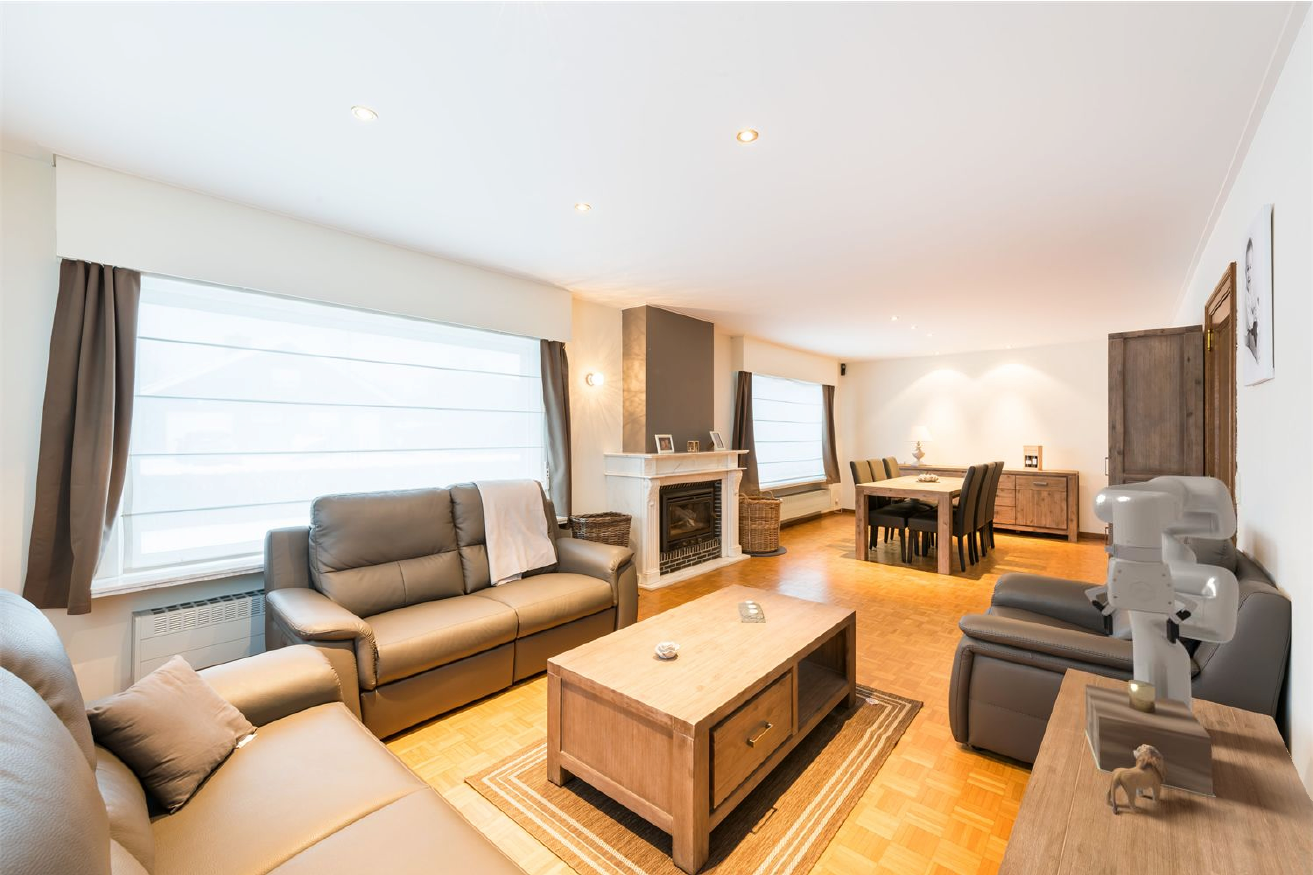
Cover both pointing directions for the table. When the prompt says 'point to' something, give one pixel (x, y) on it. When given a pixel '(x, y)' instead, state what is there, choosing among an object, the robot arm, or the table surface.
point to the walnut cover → (1149, 734)
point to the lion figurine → (1138, 777)
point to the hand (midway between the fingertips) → (1139, 637)
